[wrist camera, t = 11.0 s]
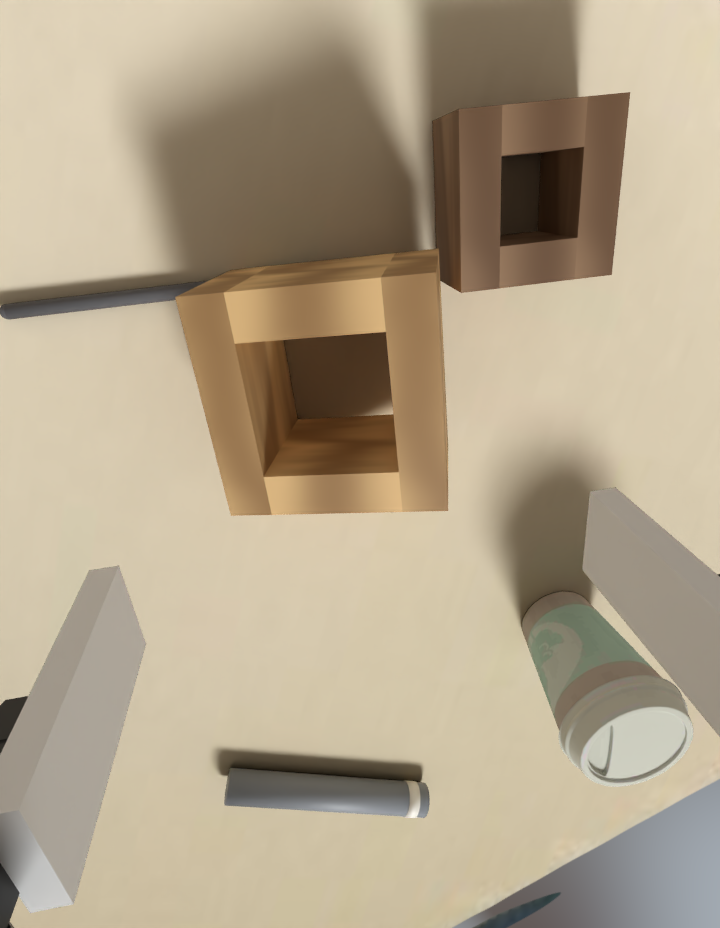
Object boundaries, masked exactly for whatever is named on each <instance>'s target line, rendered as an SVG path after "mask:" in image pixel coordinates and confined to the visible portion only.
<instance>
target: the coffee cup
mask: <svg viewBox="0 0 720 928" xmlns="http://www.w3.org/2000/svg"><path fill="white" fill-rule="evenodd" d="M522 631H523V634H524V637H525V639H526V642H527V645H528V648H529V651H530V653H531V656H532V659H533V661H534V664H535V667H536V669H537V672H538V675H539V677H540V680H541V683H542V686H543V688H544V691H545V694H546V696H547V699H548V702H549V704H550V707H551V710H552V712H553V715H554V718H555V721H556V723H557V726H558V728H559V743H560V746H561V749H562V750H563V752H564V753H565V754H566V755H567V757H568V759H569V760H570V761H571V762H572V763H573V764H574V765H575V766H576V767H578V768H579V769H580V770H581V771H582V772H583V773H584V774H585V775H586V777H587V778H589V779H590V780H591V781H593V782H595V783H598V784H601V785H605V786H612V787H620V786H629V785H634V784H638V783H641V782H644V781H647V780H649V779H652V778H654V777H656V776H658V775H660V774H661V773H663V772H665V771H666V770H668V769H669V768H670V767H672V766H673V765H674V764H675V763H676V762H677V761H678V760H679V759H680V758H681V757H682V756H683V755H684V754H685V752H686V751H687V749H688V748H689V746H690V744H691V741H692V738H693V725H692V722H691V720H690V717H689V715H688V708H687V705H686V702H685V700H684V699H683V697H682V695H681V693H680V691H679V690H678V688H677V687H676V686H675V685H674V684H672V683H671V682H669V681H668V680H665V679H663V678H662V677H661V676H660V675H659V674H658V673H657V672H656V671H655V670H654V669H653V668H652V667H651V666H650V665H649V664H648V663H647V662H646V661H645V660H644V659H643V658H642V657H641V656H640V655H639V654H638V653H637V652H636V651H635V650H634V649H633V647H632V646H631V645H630V644H629V643H628V642H627V641H626V640H625V639H624V638H623V637H622V636H621V635H620V634H619V633H618V632H617V631H616V630H615V629H614V628H613V627H612V626H611V625H610V624H609V623H608V622H607V621H606V620H605V619H604V618H603V617H602V616H601V615H600V614H599V612H597V610H596V609H595V608H594V607H593V606H592V605H591V604H590V603H589V602H588V601H587V600H586V599H585V598H584V597H582V596H581V595H579V594H576V593H573V592H556V593H552V594H549V595H547V596H545V597H543V598H541V599H539V600H538V601H537V602H535V603H534V604H533V605H532V606H531V607H530V608H529V609H528V611H527V612H526V614H525V616H524V618H523V622H522Z"/></svg>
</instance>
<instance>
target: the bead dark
mask: <svg viewBox="0 0 720 928" xmlns="http://www.w3.org/2000/svg"><path fill="white" fill-rule="evenodd" d="M629 99H630V92H629V93H618V94H608V95H598V96H588V97H577V98H567V99H557V100H547V101H536V102H526V103H516V104H506V105H496V106H485V107H475V108H465V109H458V110H456V111H453V112H451V113H449V114H447V115H445V116H442V117H440V118H438V119H436V120H433V121H432V124H433V156H434V188H435V220H436V249H439V265H440V281H442V282H444V283H445V284H447V285H449V286H451V287H452V288H454V289H456V290H457V291H459V292H461V293H464V292H472V291H480V290H489V289H497V288H505V287H513V286H522V285H530V284H538V283H547V282H555V281H563V280H572V279H580V278H588V277H597V276H605V275H612V266H613V256H614V246H615V236H616V226H617V217H618V207H619V197H620V187H621V177H622V167H623V158H624V148H625V138H626V128H627V118H628V108H629ZM534 153H541V161H540V184H539V207H538V230H537V231H534V232H525V233H516V234H507V235H500V219H501V158H502V157H505V156H514V155H524V154H534Z"/></svg>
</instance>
